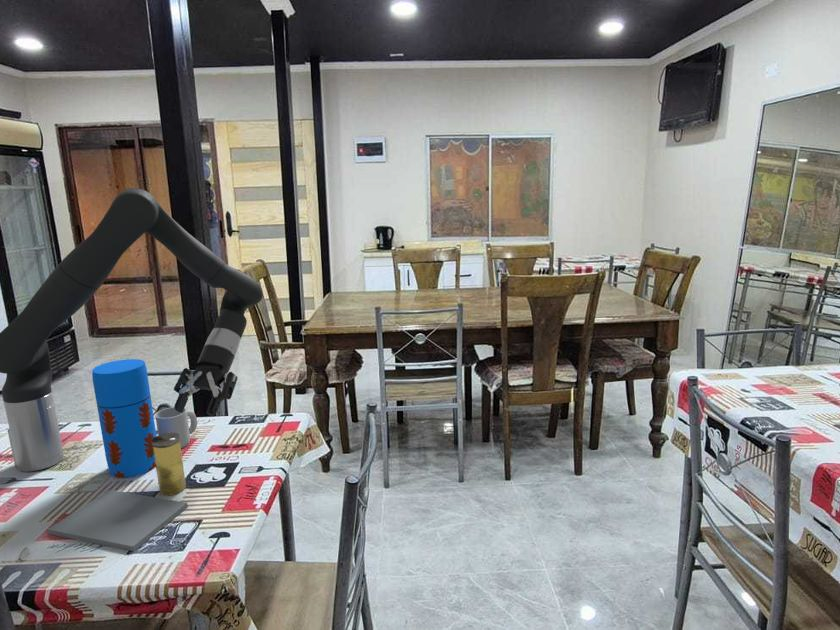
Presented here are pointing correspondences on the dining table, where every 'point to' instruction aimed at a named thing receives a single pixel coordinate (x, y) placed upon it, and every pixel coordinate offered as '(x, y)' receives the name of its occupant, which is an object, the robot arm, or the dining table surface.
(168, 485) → the canister
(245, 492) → the dining table surface
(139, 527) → the slate board
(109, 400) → the thermos
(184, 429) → the cup
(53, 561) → the dining table surface
